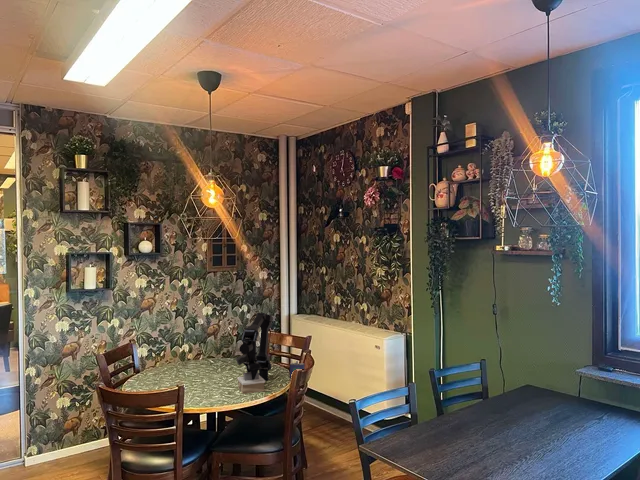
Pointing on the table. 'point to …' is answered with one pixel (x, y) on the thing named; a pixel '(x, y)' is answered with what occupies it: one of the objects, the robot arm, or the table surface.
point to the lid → (250, 379)
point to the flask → (295, 367)
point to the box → (251, 387)
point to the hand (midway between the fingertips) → (251, 377)
